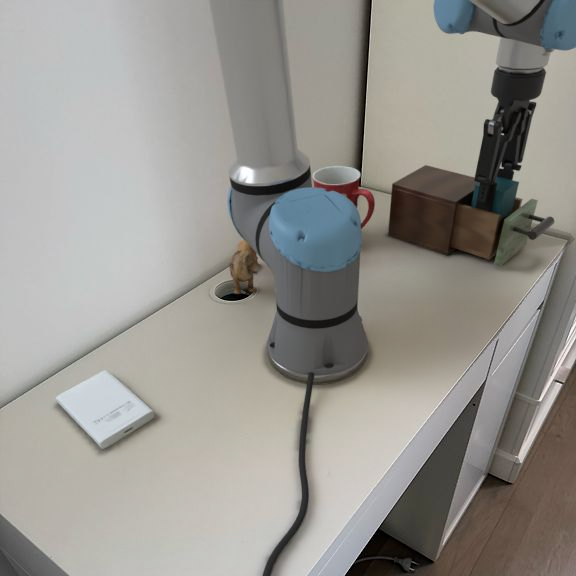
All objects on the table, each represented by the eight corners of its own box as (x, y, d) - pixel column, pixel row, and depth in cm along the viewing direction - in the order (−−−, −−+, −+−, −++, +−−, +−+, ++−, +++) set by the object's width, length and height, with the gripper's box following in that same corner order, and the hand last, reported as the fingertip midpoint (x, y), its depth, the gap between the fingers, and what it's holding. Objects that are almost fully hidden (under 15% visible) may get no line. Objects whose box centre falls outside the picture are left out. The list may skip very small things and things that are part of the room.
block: (512, 211, 99) (519, 181, 95) (497, 222, 96) (504, 192, 92) (484, 204, 102) (490, 174, 98) (469, 214, 99) (474, 184, 95)
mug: (304, 244, 109) (302, 177, 100) (331, 227, 114) (331, 161, 105) (355, 262, 103) (358, 193, 94) (382, 243, 108) (387, 176, 99)
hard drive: (109, 377, 81) (155, 417, 74) (58, 404, 77) (102, 450, 70) (106, 368, 80) (153, 409, 73) (54, 396, 76) (99, 442, 69)
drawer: (548, 251, 100) (562, 206, 95) (522, 274, 95) (535, 228, 89) (466, 226, 109) (474, 183, 103) (438, 246, 104) (445, 202, 98)
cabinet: (477, 232, 109) (488, 180, 102) (447, 255, 103) (456, 201, 96) (419, 214, 116) (425, 164, 109) (387, 235, 110) (392, 183, 103)
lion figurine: (264, 302, 94) (260, 256, 88) (233, 305, 94) (227, 259, 88) (258, 260, 105) (254, 216, 99) (231, 263, 105) (225, 219, 99)
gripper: (516, 84, 76) (484, 236, 92) (570, 57, 86) (532, 199, 101) (468, 77, 80) (444, 224, 96) (524, 52, 90) (495, 189, 105)
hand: (490, 211), depth 99 cm, fingers closed on block, 5 cm apart
